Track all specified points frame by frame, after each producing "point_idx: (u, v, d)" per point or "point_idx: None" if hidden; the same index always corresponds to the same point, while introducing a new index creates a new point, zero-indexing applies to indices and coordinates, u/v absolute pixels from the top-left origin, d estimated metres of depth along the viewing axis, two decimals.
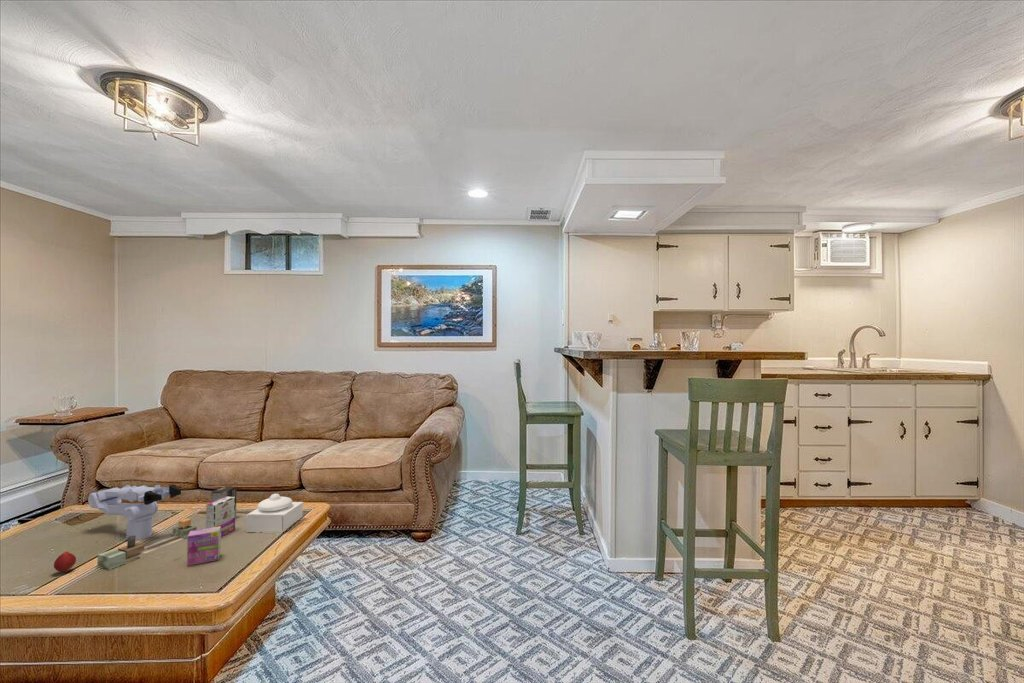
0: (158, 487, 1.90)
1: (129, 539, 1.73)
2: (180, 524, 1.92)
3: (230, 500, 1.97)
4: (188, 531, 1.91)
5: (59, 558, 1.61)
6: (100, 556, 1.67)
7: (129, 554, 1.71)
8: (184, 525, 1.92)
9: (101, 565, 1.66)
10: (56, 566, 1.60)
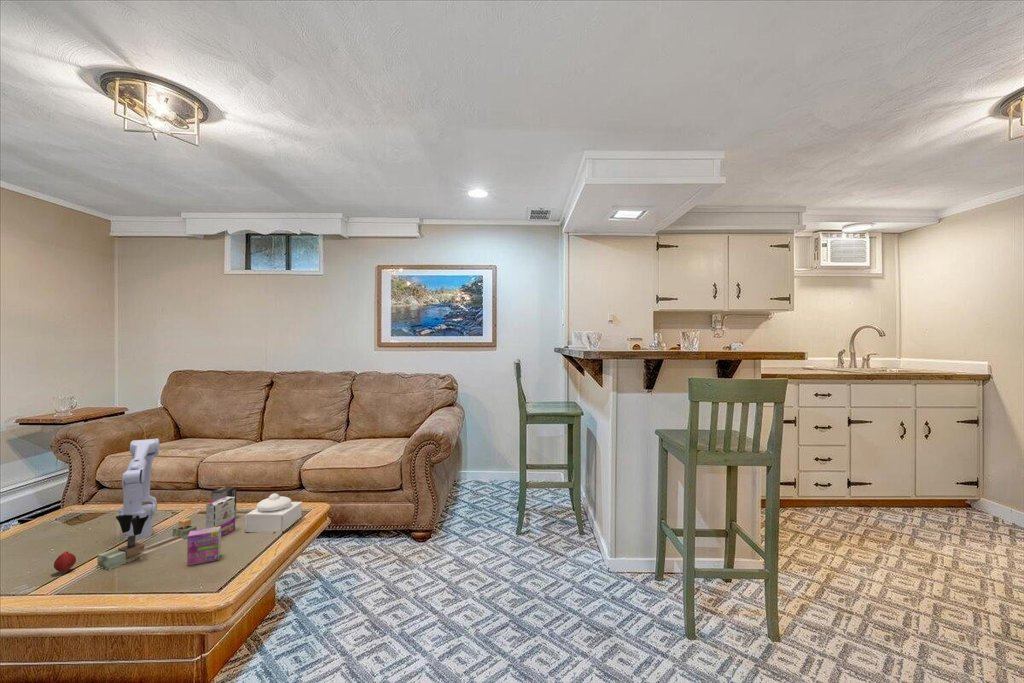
0: (124, 514, 1.72)
1: (129, 539, 1.73)
2: (180, 524, 1.92)
3: (230, 500, 1.97)
4: (188, 531, 1.91)
5: (59, 558, 1.61)
6: (100, 556, 1.67)
7: (129, 554, 1.71)
8: (184, 525, 1.92)
9: (101, 565, 1.66)
10: (56, 566, 1.60)
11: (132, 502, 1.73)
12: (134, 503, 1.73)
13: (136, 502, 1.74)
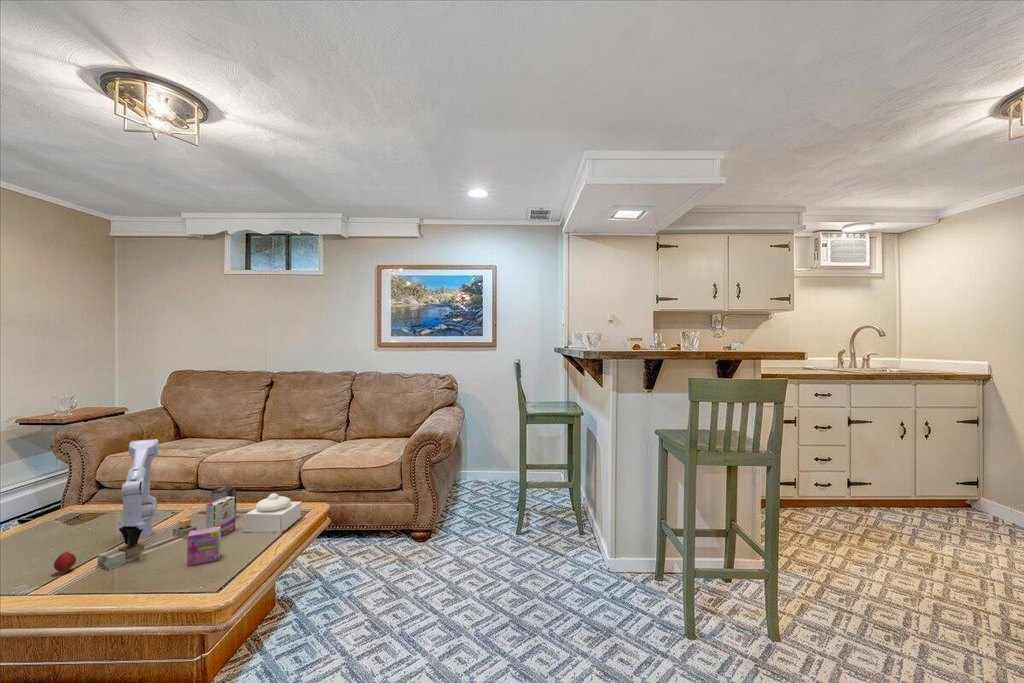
0: (123, 526, 1.72)
1: None
2: (180, 524, 1.92)
3: (230, 500, 1.97)
4: (188, 531, 1.91)
5: (59, 558, 1.61)
6: (100, 556, 1.67)
7: (129, 554, 1.71)
8: (184, 525, 1.92)
9: (101, 565, 1.66)
10: (56, 566, 1.60)
11: (132, 513, 1.73)
12: (134, 514, 1.73)
13: (136, 513, 1.74)
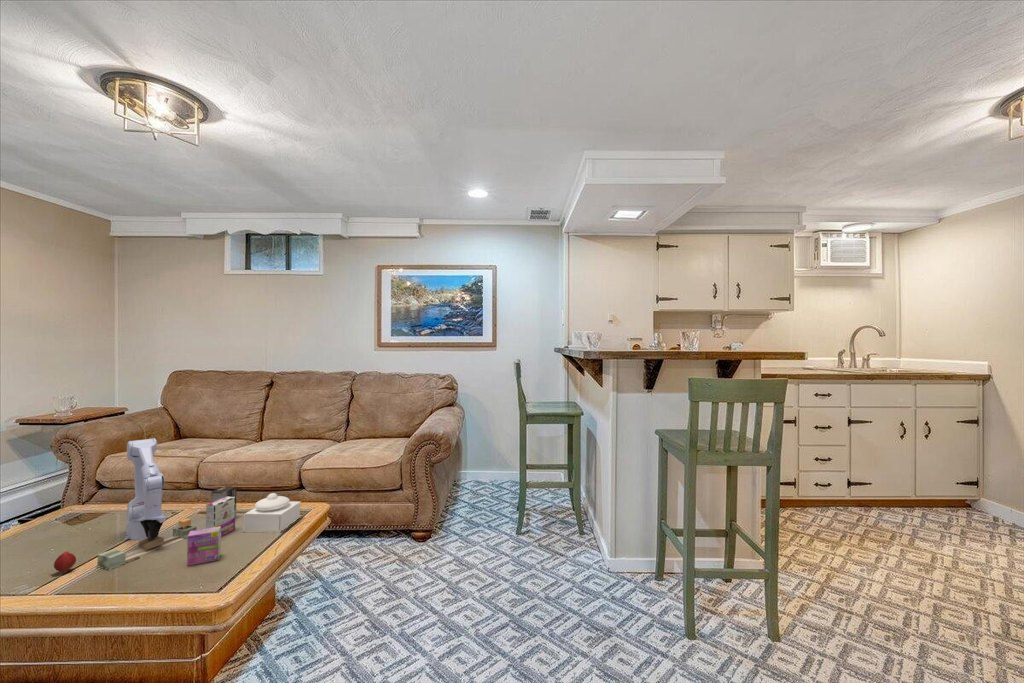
0: None
1: (149, 532, 1.80)
2: (180, 524, 1.92)
3: (230, 500, 1.97)
4: (188, 531, 1.91)
5: (59, 558, 1.61)
6: (100, 556, 1.67)
7: (150, 546, 1.78)
8: (184, 525, 1.92)
9: (101, 565, 1.66)
10: (56, 566, 1.60)
11: (152, 507, 1.79)
12: (154, 508, 1.80)
13: (156, 507, 1.80)
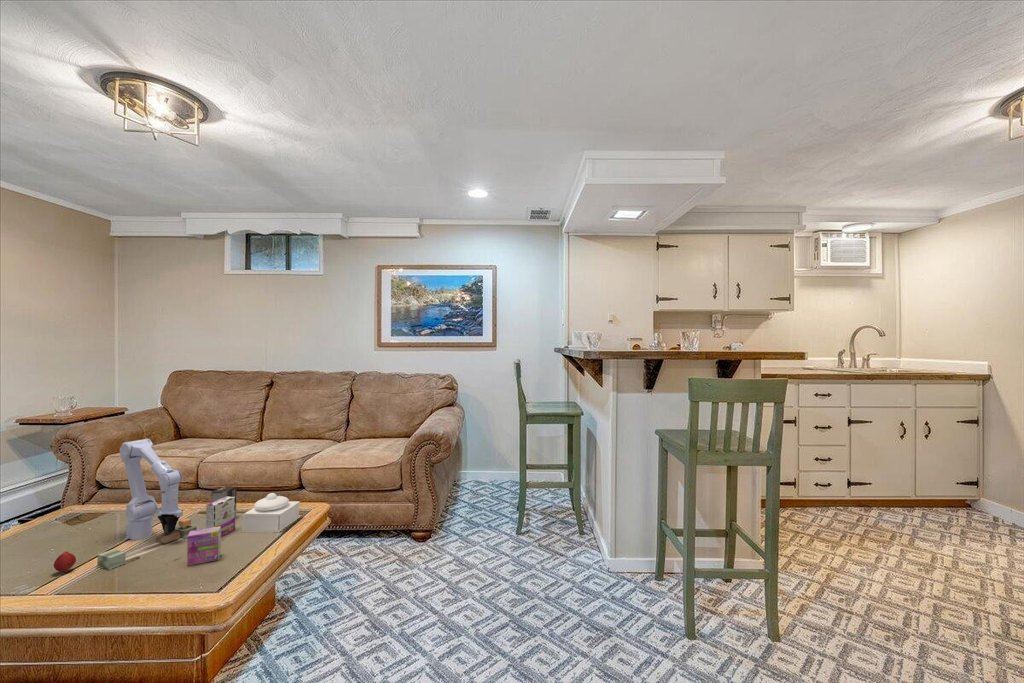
0: (162, 514, 1.85)
1: (166, 527, 1.86)
2: (180, 524, 1.92)
3: (230, 500, 1.97)
4: (188, 531, 1.91)
5: (59, 558, 1.61)
6: (100, 556, 1.67)
7: (166, 540, 1.84)
8: (184, 525, 1.92)
9: (101, 565, 1.66)
10: (56, 566, 1.60)
11: (170, 502, 1.86)
12: (171, 503, 1.86)
13: (173, 502, 1.87)
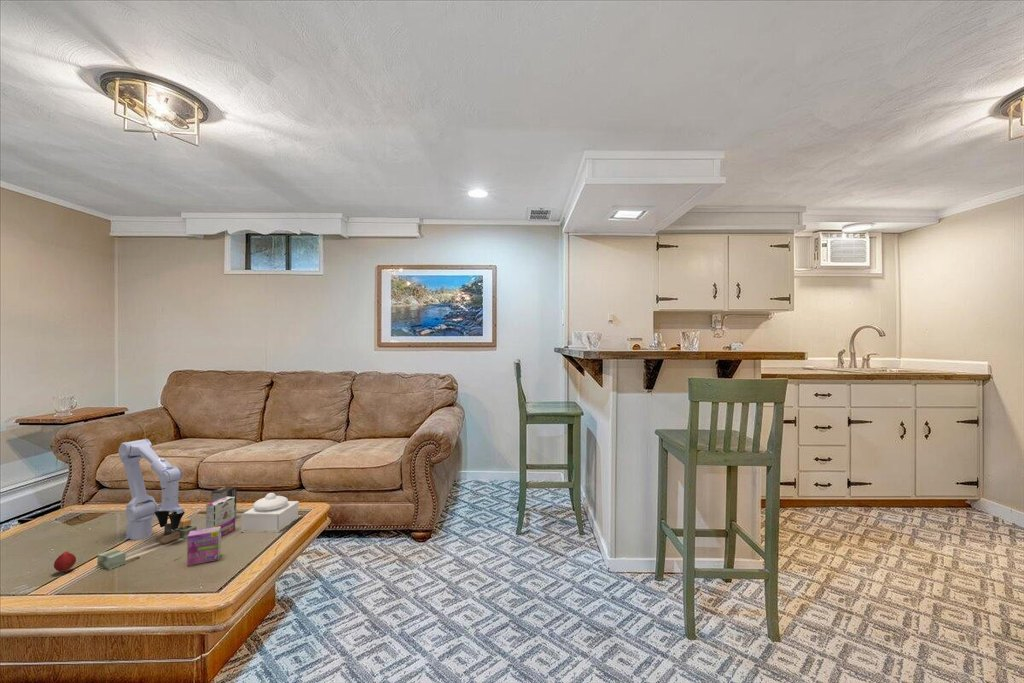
0: (162, 510, 1.85)
1: (166, 526, 1.86)
2: (180, 524, 1.92)
3: (230, 500, 1.97)
4: (188, 531, 1.91)
5: (59, 558, 1.61)
6: (100, 556, 1.67)
7: (166, 540, 1.84)
8: (184, 525, 1.92)
9: (101, 565, 1.66)
10: (56, 566, 1.60)
11: (170, 499, 1.86)
12: (171, 500, 1.86)
13: (173, 499, 1.87)
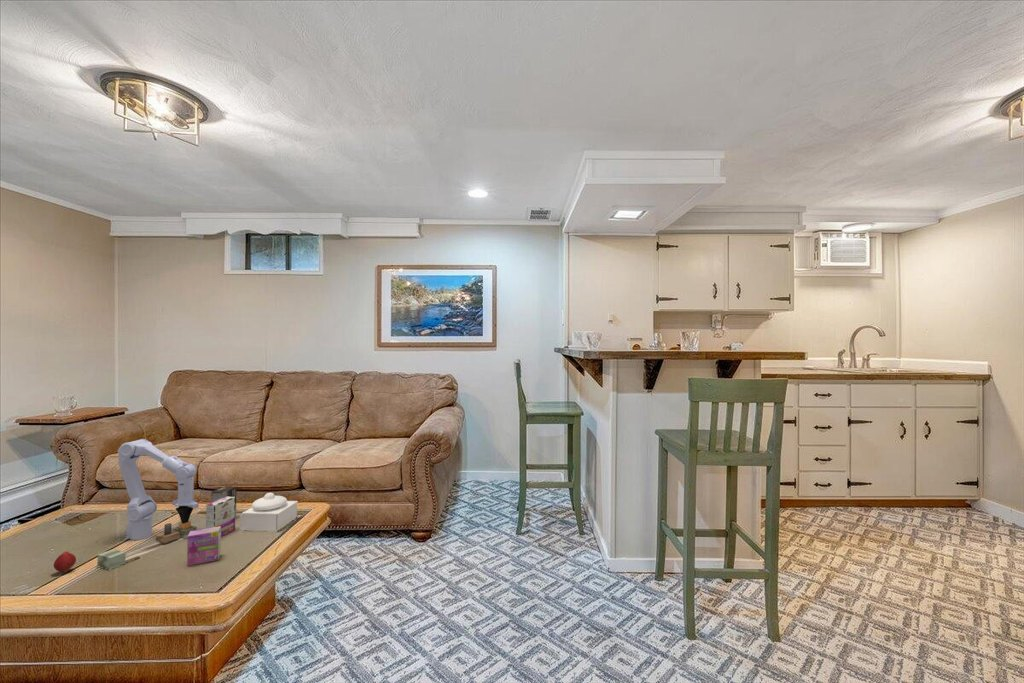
0: (178, 505, 1.91)
1: (166, 526, 1.86)
2: (180, 526, 1.92)
3: (230, 500, 1.97)
4: (188, 531, 1.91)
5: (59, 558, 1.61)
6: (100, 556, 1.67)
7: (166, 540, 1.84)
8: (184, 527, 1.92)
9: (101, 565, 1.66)
10: (56, 566, 1.60)
11: (186, 494, 1.92)
12: (187, 495, 1.92)
13: (189, 494, 1.93)
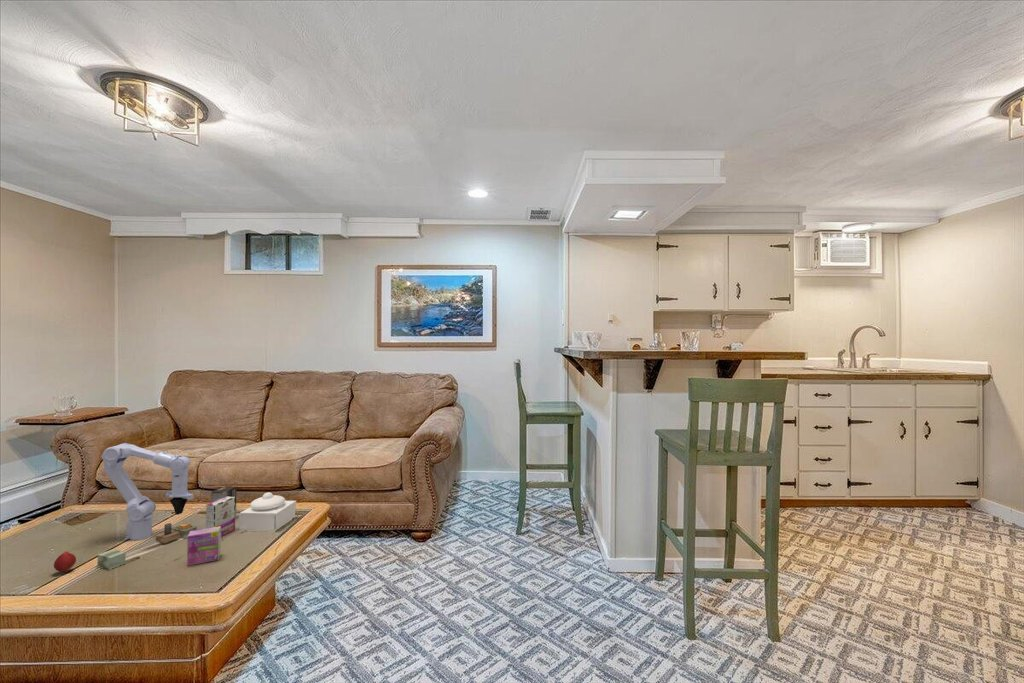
0: (173, 497, 1.93)
1: (166, 526, 1.86)
2: (180, 528, 1.92)
3: (230, 500, 1.97)
4: (188, 531, 1.91)
5: (59, 558, 1.61)
6: (100, 556, 1.67)
7: (166, 540, 1.84)
8: None
9: (101, 565, 1.66)
10: (56, 566, 1.60)
11: (180, 486, 1.94)
12: (182, 487, 1.95)
13: (183, 486, 1.95)
